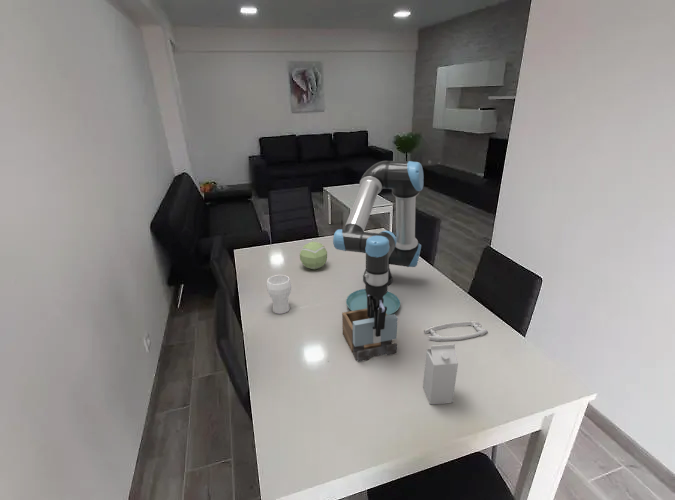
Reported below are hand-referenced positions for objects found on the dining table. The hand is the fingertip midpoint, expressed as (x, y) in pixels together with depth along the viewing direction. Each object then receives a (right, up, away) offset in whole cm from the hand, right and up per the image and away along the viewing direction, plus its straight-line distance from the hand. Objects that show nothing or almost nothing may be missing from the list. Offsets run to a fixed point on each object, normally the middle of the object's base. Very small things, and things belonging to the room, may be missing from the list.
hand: (375, 339), depth 127 cm
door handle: (+33, -1, +13) cm, 36 cm away
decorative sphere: (-27, +22, +72) cm, 80 cm away
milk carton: (+18, -13, -17) cm, 28 cm away
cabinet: (-1, -3, +7) cm, 8 cm away
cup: (-39, +5, +32) cm, 51 cm away
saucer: (+2, +6, +32) cm, 33 cm away
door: (0, -1, 0) cm, 1 cm away
